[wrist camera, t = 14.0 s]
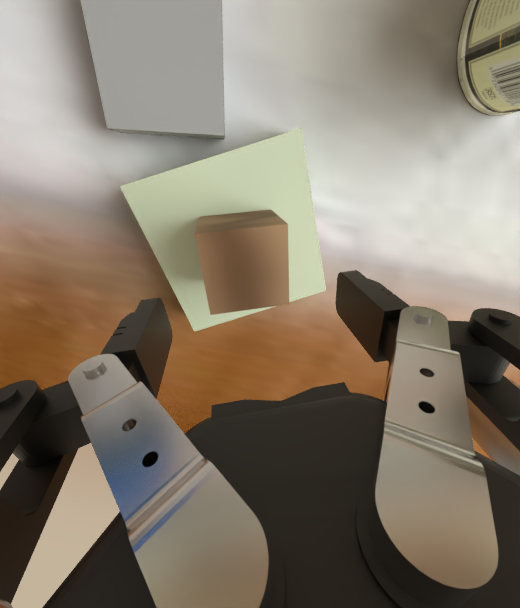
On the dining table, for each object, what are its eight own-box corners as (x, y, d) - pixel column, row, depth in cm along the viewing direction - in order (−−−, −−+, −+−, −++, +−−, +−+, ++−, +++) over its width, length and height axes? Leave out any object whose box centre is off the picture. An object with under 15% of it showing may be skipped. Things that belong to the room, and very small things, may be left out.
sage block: (286, 133, 19) (301, 128, 16) (311, 272, 25) (326, 290, 22) (137, 181, 19) (119, 186, 16) (197, 308, 26) (194, 331, 22)
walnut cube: (270, 209, 18) (288, 224, 14) (274, 274, 20) (289, 304, 16) (200, 216, 17) (194, 234, 13) (212, 282, 20) (210, 314, 16)
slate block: (220, 1, 15) (221, -31, 13) (224, 139, 19) (224, 135, 16) (96, -16, 14) (69, -54, 12) (123, 133, 18) (107, 128, 15)
